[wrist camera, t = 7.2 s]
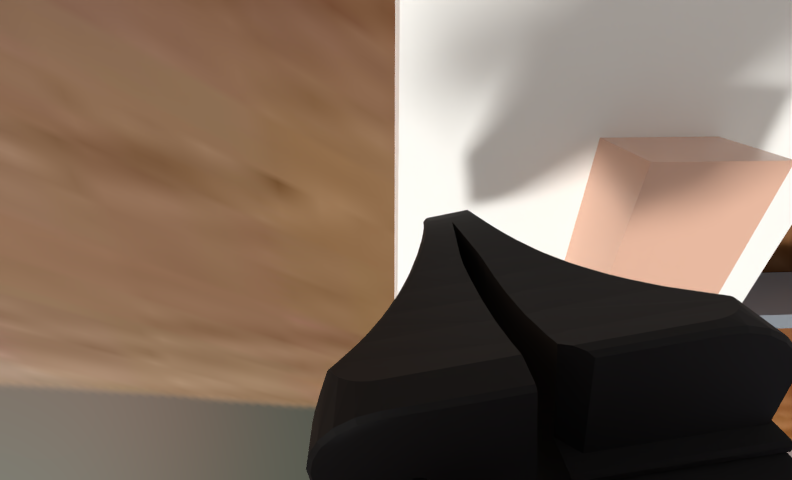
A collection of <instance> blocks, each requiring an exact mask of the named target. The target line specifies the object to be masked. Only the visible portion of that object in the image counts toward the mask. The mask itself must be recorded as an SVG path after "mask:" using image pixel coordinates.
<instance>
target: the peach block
mask: <svg viewBox="0 0 792 480" xmlns="http://www.w3.org/2000/svg"><path fill="white" fill-rule="evenodd" d="M791 168H792V159H790V158H786V157H783V156H780V155H777V154H774V153H770V152H767V151H764V150H761V149H757V148H754V147H751V146H748V145H745V144H741V143H738V142H735V141H732V140H729V139H725V138H722V137H719V136H715V137H607V138H600V139H599V143H598V146H597V150H596V153H595V156H594V160H593V163H592V167H591V170H590V174H589V177H588V181H587V184H586V188H585V191H584V195H583V198H582V202H581V205H580V209H579V212H578V215H577V219H576V222H575V226H574V229H573V233H572V236H571V240H570V243H569V247H568V250H567V254H566V257H565V261H567V262H570V263H573V264H576V265H579V266H582V267H585V268H589V269H592V270H596V271H599V272H603V273H606V274H610V275H614V276H618V277H622V278H627V279H631V280H636V281H641V282H646V283H651V284H656V285H661V286H666V287H673V288H680V289H687V290H694V291H701V292H708V293H715V294H719V292H720V290H721V288H722V287H723V285H724V283H725V282H726V280H727V278H728V276H729V275H730V273H731V271H732V269H733V268H734V266H735V264H736V263H737V261H738V259H739V257H740V256H741V254H742V252H743V250H744V249H745V247H746V245H747V244H748V242H749V240H750V238H751V237H752V235H753V233H754V231H755V230H756V228H757V226H758V225H759V223H760V221H761V219H762V218H763V216H764V214H765V212H766V211H767V209H768V207H769V206H770V204H771V202H772V200H773V199H774V197H775V195H776V193H777V192H778V190H779V188H780V187H781V185H782V183H783V181H784V180H785V178H786V176H787V174H788V173H789V171H790V169H791Z"/></svg>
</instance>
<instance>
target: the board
mask: <svg viewBox="0 0 792 480" xmlns="http://www.w3.org/2000/svg"><path fill="white" fill-rule="evenodd" d="M715 136H719V137H722V138H725V139H729V140H732V141H735V142H738V143H741V144H745V145H748V146H751V147H754V148H757V149H761V150H764V151H767V152H770V153H774V154H777V155H780V156H783V157H786V158H790V159H792V0H395V293H394V299H395V298H396V297H397V295H398V293H399V292H400V290H401V288H402V287H403V285H404V283H405V281H406V279H407V277H408V275H409V273H410V271H411V268H412V266H413V264H414V261H415V259H416V256H417V253H418V250H419V247H420V243H421V240H422V235H423V229H424V224H423V222H424V220H425V219H426V218H429V217H434V216H439V215H444V214H449V213H454V212H459V211H464V210H468V211H470V212H472V213H473V214H475V215H476V216H478V217H479V218H481V219H482V220H484V221H485V222H487V223H489V224H490V225H492V226H493V227H495V228H497V229H498V230H500V231H502V232H503V233H505V234H507V235H509V236H511V237H512V238H514V239H516V240H518V241H520V242H522V243H524V244H526V245H528V246H530V247H532V248H534V249H537V250H539V251H541V252H543V253H546V254H548V255H551V256H554V257H556V258H559V259H561V260H564V261H565V257H566V254H567V250H568V247H569V243H570V240H571V236H572V233H573V229H574V226H575V222H576V219H577V215H578V212H579V209H580V205H581V202H582V198H583V195H584V191H585V188H586V184H587V181H588V177H589V174H590V170H591V167H592V163H593V160H594V156H595V153H596V150H597V146H598V143H599V139H600V138H607V137H715ZM791 225H792V168H791V169H790V171H789V173H788V174H787V176H786V178H785V180H784V181H783V183H782V185H781V187H780V188H779V190H778V192H777V193H776V195H775V197H774V199H773V200H772V202H771V204H770V206H769V207H768V209H767V211H766V212H765V214H764V216H763V218H762V219H761V221H760V223H759V225H758V226H757V228H756V230H755V231H754V233H753V235H752V237H751V238H750V240H749V242H748V244H747V245H746V247H745V249H744V250H743V252H742V254H741V256H740V257H739V259H738V261H737V263H736V264H735V266H734V268H733V269H732V271H731V273H730V275H729V276H728V278H727V280H726V282H725V283H724V285H723V287H722V288H721V290H720V292H719V294H722V295H729V296H733V297H734V298H736V299H737V300H739V301H740V302H743V301H744V299H745V298H746V296H747V294H748V293H749V291H750V290H751V288H752V286H753V285H754V283H755V282H756V280H757V279H758V277H759V275H760V274H761V272H762V271H763V269H764V267H765V266H766V264H767V263H768V261H769V260H770V258H771V256H772V255H773V253H774V252H775V250H776V248H777V247H778V245H779V244H780V242H781V241H782V239H783V237H784V236H785V234H786V233H787V231H788V229H789V228H790V226H791Z"/></svg>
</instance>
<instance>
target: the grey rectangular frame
mask: <svg viewBox="0 0 792 480" xmlns="http://www.w3.org/2000/svg"><path fill="white" fill-rule="evenodd" d="M742 303H743V304H744V305H746V306H747V307H748V308H750V309H751V310H752V311H754V312H755V313H756V314H758V315H759V316H760V317H762V318H763V319H765V320H766V321H767V322H769V323H770V324H771V325H773V326H774V327H775V328H792V272H770V273H761V274H760V275H759V277H758V279H757V280H756V282H755V283H754V285H753V286H752V288H751V290H750V291H749V293H748V294H747V296H746V298H745V299H744V301H743V302H742Z"/></svg>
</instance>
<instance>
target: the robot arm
mask: <svg viewBox="0 0 792 480" xmlns="http://www.w3.org/2000/svg"><path fill="white" fill-rule="evenodd" d="M423 224H424V229H423V235H422V240H421V243H420V247H419V250H418V253H417V256H416V259H415V261H414V264H413V266H412V268H411V271H410V273H409V275H408V277H407V279H406V281H405V283H404V285H403V287H402V288H401V290H400V292H399V293H398V295H397V297H396V298H395V300H394V301H393V303H392V304H391V305H390V307H389V308H388V310H387V311H386V313H385V314H384V315H383V317H382V318H381V319H380V320H379V321H378V323H377V324H376V325H375V326H374V327H373V328H372V329H371V331H370V332H369V333H368V334H367V335H366V336H365V337H364V338H363V339H362V340H361V341H360V342H359V343H358V344H357V345H356V346H355V347H354V348H353V349H352V350H351V351H349V352H348V353H347V354H346V355H345V356H344V357H343V358H342V359H341V360H339V361H338V362H337V363H336V364H335V365H334V366H332V367H331V368H330V369H329V370H328V371H327V374H326V377H325V380H324V383H323V386H322V389H321V392H320V396H319V399H318V403H317V406H316V409H315V413H314V419H313V423H312V430H311V438H310V446H309V452H308V460H307V467H306V470H307V473H308V475H309V478H310V480H792V457H791V456H790V455H789V454H788V453H787V452H790V451H791V450H792V440H791V439H790V438H789V437H788V436H787V435H786V434H785V433H784V432H783V431H782V430H781V429H780V428H779V427H778V426H777V425H776V424H775V423H774V422H773V421H772V418H773V416H774V414H775V413H776V411H777V409H778V407H779V405H780V404H781V402H782V400H783V398H784V396H785V395H786V393H787V391H788V389H789V387H790V386H791V384H792V342H791V341H790V339H789V338H788V337H787V336H786V335H785V334H783V333H782V332H781V331H779V330H778V329H777V328H775V327H774V326H773V325H771V324H770V323H769V322H767V321H766V320H765V319H763V318H762V317H760V316H759V315H758V314H756V313H755V312H754V311H752V310H751V309H750V308H748V307H747V306H746V305H744V304H743V303H742V302H740V301H739V300H737V299H736V298H734V297H733V296H729V295H722V294H715V293H708V292H701V291H694V290H687V289H680V288H673V287H666V286H661V285H656V284H651V283H646V282H641V281H636V280H631V279H627V278H622V277H618V276H614V275H610V274H606V273H603V272H599V271H596V270H592V269H589V268H585V267H582V266H579V265H576V264H573V263H570V262H567V261H564V260H561V259H559V258H556V257H554V256H551V255H548V254H546V253H543V252H541V251H539V250H537V249H534V248H532V247H530V246H528V245H526V244H524V243H522V242H520V241H518V240H516V239H514V238H512V237H511V236H509V235H507V234H505V233H503V232H502V231H500V230H498V229H497V228H495V227H493V226H492V225H490V224H489V223H487V222H485V221H484V220H482V219H481V218H479V217H478V216H476V215H475V214H473V213H472V212H470V211H468V210H464V211H459V212H454V213H449V214H444V215H439V216H434V217H429V218H426V219H425V220H424V222H423Z"/></svg>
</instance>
